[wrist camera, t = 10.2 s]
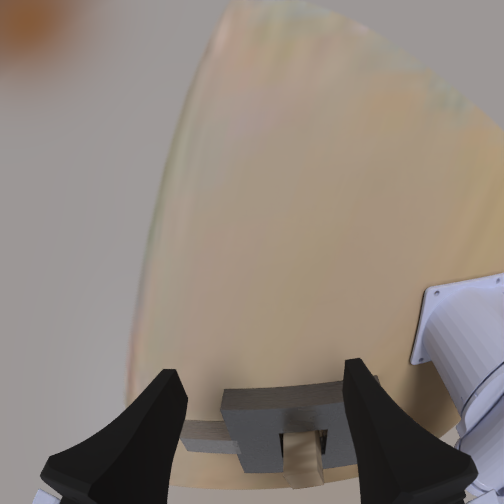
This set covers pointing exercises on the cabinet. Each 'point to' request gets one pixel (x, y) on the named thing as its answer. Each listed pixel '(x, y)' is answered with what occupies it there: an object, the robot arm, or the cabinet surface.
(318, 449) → the oak wedge
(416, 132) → the cabinet surface
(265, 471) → the steel bracket head
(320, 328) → the cabinet surface
